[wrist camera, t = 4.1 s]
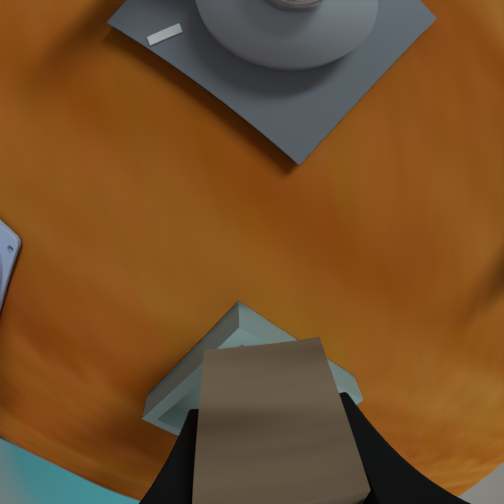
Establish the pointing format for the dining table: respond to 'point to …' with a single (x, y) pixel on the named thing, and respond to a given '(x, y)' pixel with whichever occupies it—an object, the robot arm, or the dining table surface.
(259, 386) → the block
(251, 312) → the tray
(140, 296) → the dining table surface
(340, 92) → the crank base
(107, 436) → the dining table surface
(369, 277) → the dining table surface
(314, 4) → the crank
